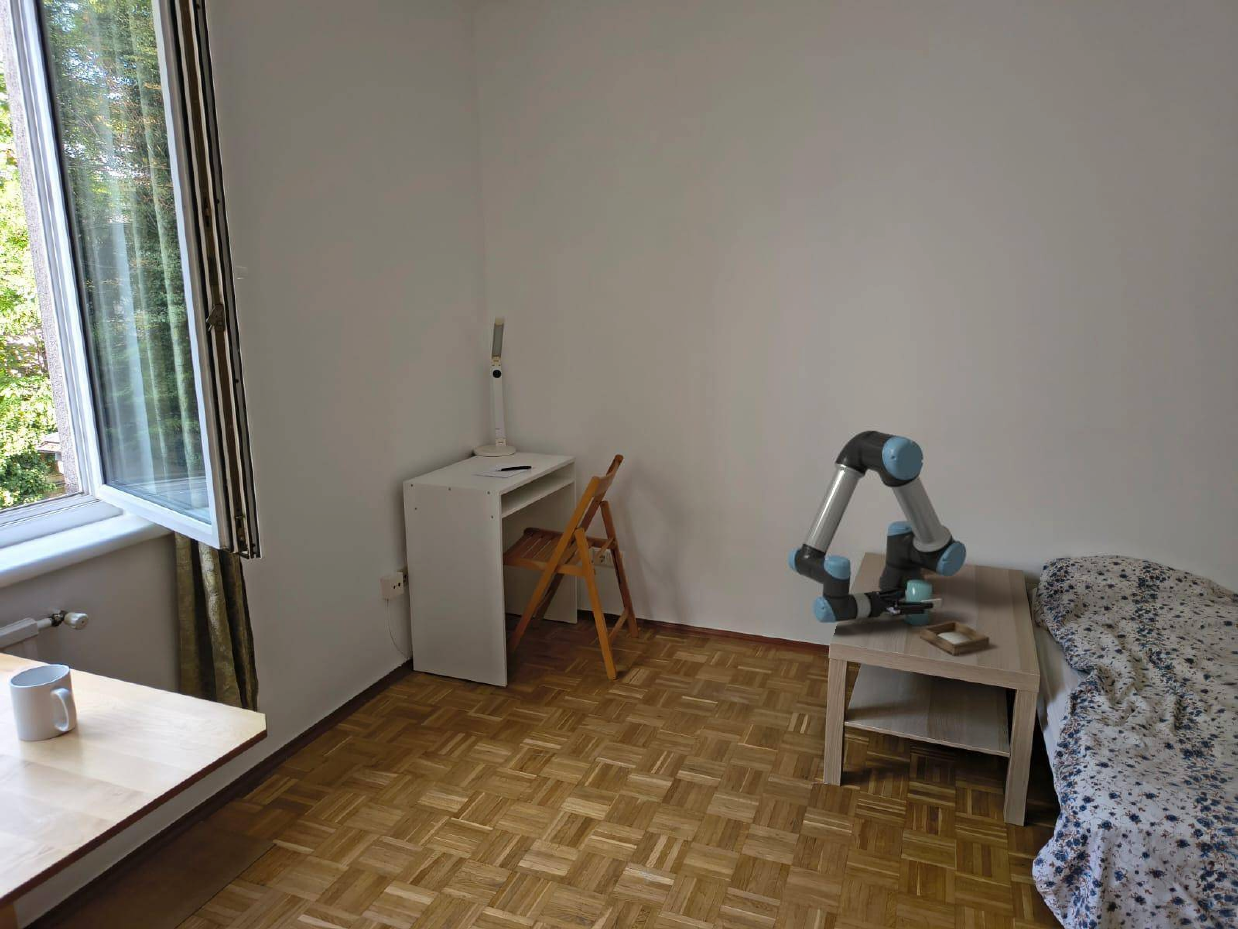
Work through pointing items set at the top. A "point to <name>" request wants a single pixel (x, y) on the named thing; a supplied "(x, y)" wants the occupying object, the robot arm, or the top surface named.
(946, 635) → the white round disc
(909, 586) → the teal cylinder
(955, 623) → the walnut tray
